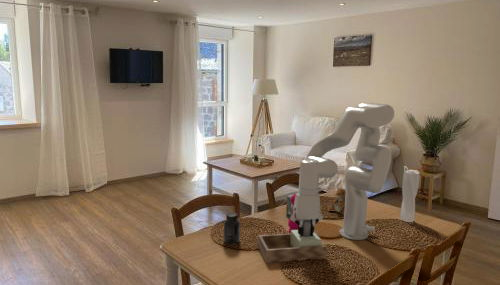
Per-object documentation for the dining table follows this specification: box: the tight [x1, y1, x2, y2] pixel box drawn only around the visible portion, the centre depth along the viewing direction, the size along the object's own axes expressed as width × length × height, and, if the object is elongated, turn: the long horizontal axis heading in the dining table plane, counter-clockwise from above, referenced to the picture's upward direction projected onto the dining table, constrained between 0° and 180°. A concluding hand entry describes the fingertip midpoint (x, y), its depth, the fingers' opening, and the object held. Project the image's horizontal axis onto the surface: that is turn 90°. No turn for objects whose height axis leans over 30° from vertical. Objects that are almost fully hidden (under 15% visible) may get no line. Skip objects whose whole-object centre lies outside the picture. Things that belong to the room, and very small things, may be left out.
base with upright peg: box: [290, 219, 322, 247], centre depth 151 cm, size 9×11×12 cm
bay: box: [257, 233, 327, 264], centre depth 150 cm, size 24×14×5 cm, turn 102°
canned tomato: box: [285, 193, 295, 219], centre depth 190 cm, size 8×8×11 cm
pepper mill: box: [287, 190, 299, 234], centre depth 168 cm, size 7×7×20 cm
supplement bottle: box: [223, 212, 241, 245], centre depth 159 cm, size 7×7×12 cm
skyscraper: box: [398, 165, 420, 223], centre depth 186 cm, size 8×8×28 cm
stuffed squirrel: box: [327, 187, 346, 214], centre depth 200 cm, size 10×14×13 cm
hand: (305, 234), depth 151 cm, fingers closed on base with upright peg, 3 cm apart
